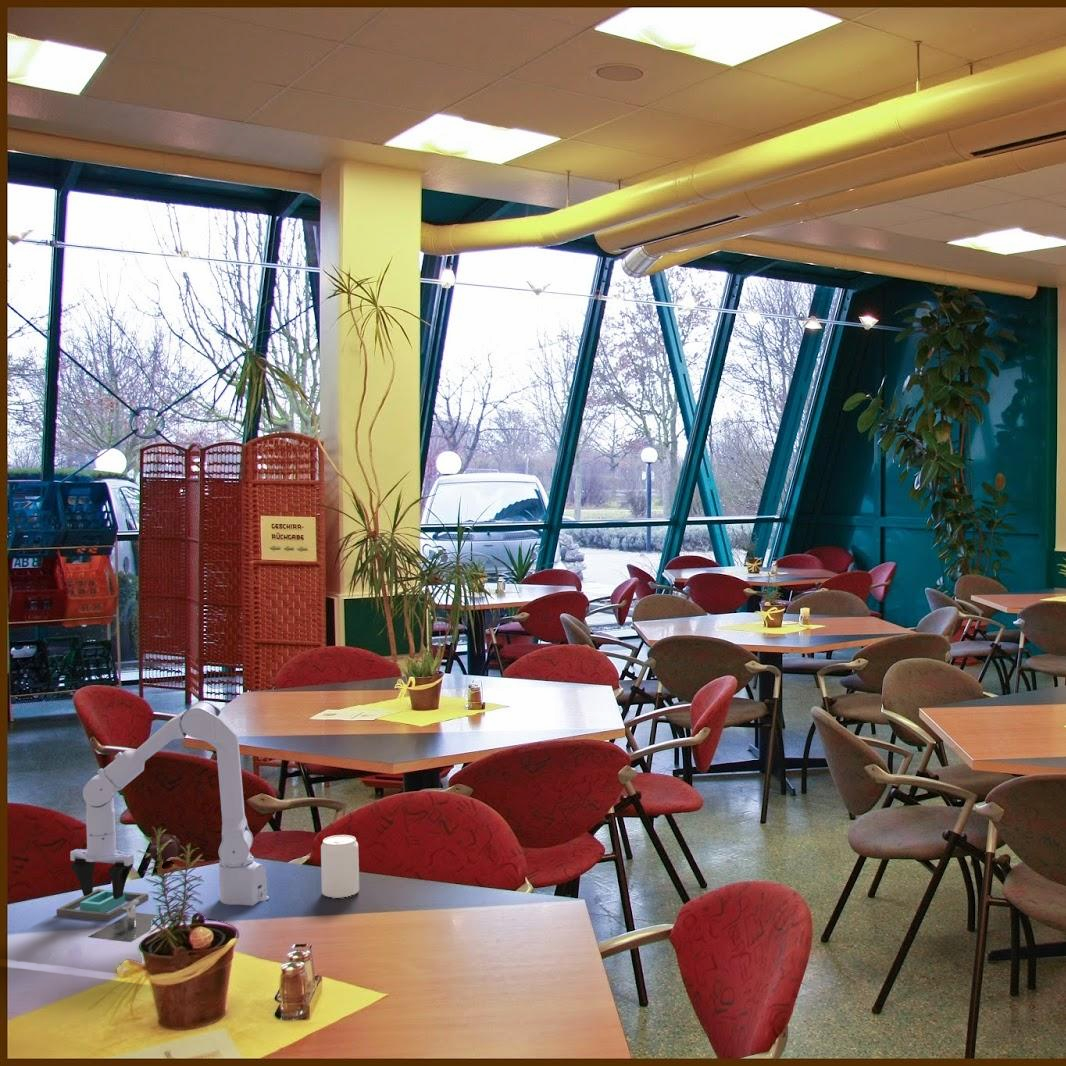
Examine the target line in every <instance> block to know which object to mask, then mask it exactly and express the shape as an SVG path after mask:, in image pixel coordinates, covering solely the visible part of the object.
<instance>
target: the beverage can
mask: <svg viewBox="0 0 1066 1066" xmlns="http://www.w3.org/2000/svg"><path fill="white" fill-rule="evenodd" d="M359 855H360V854H359V843H358V841H357V838H356V837H355V836H353V835H349V834H336V835H331V836H327V837H325V838H324V839H322V844H321V845H320V860H321V861H320V863H321V864H320V868H321V869H320V870H321V871H320V872H321V873H320V874H321V894H322V895H323V896H325V897H328V898H329V897H333V898H332V899H335V898H341V897H347V898H349V897H348V896H350V897H352V896H351V895H353V896H354V895H355V894H357V893H358V892H359V891H360V865H359V864H360V863H359V861H360V860H359ZM341 899H342V898H341Z"/></svg>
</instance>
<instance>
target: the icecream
mask: <svg viewBox="0 0 1066 1066" xmlns="http://www.w3.org/2000/svg"><path fill="white" fill-rule="evenodd" d="M163 834H164V833H163ZM169 839H173V840H174V843H171V844H170V845H168V846H167V847H166V848H165V849H164V851H163V854H162V859H163V863H164V864H165V863H166V862H165V861H166V860H167V859H168V858H170V857H175V858H177V857H178V856H179V854H180V849H181V844H180V839H178V838H177V836H176V835H172V834H169V833H167V834H164V835H163V837H162V839H161V844H164V843H165V842H167V841H168V840H169ZM156 840H157V836H156V837H154V838H152V841H151V844H150V845H149V857H150V858H151V859H152V860H153V861H154V862H155V863H154V868H155V869H156V862H157V846H156Z"/></svg>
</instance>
